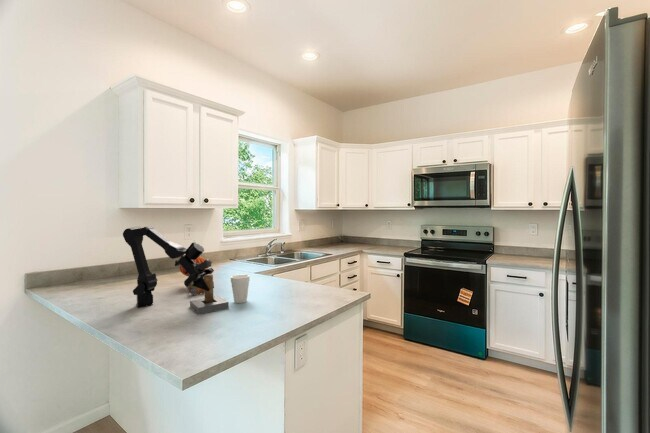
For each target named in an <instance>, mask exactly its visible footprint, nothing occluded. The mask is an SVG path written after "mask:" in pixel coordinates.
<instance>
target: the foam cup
mask: <svg viewBox="0 0 650 433" xmlns="http://www.w3.org/2000/svg"><path fill="white" fill-rule="evenodd" d="M230 283H231V290H232V294H233V295H232V296H233V301H234V302H233V303H236V304H245V303H246V302H247V301H248V293H249V292H248V291H249V285H250V284H249V283H250V275H249V274H244V273H243V274H234V275H231V276H230Z"/></svg>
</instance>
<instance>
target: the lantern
mask: <svg viewBox="0 0 650 433" xmlns="http://www.w3.org/2000/svg"><path fill="white" fill-rule="evenodd" d="M204 260H206V258H205V257H204V256H201V255H200V256H199V257H198V258H197V259H196V260H194V259H193V261H194V262H195V263H199V264H201V263H203V262H204ZM178 266H179V268H178V269H179V271H180V273H181V274H182V275H184V276H186V277H189V276H190V275H189V274H185V272H186V271H185V270H184V269H183V268H182V267H181V265H178ZM208 268H210V267H207V268H205V270H206V269H208ZM203 272H204V271H203Z"/></svg>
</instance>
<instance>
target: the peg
mask: <svg viewBox="0 0 650 433" xmlns="http://www.w3.org/2000/svg"><path fill="white" fill-rule="evenodd" d="M204 282H205V283H206V285H207V286H208V287H209V289H210V290H209V291H206V290H204V293H203V294H204V298H205V304H208V303H213V297H214V288H213V282H214V274H213V273H212V274H206V275H204Z"/></svg>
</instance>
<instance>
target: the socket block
mask: <svg viewBox="0 0 650 433" xmlns="http://www.w3.org/2000/svg"><path fill="white" fill-rule="evenodd" d="M229 304H230V303H229V300H226V299H225V298H223V297H222V296H220V295H215V296H214V295H213V303H208V304H205V297H204V298H203V297H202V298H200V299H192V300H189V308H191V309H192V310H193V311H194V312H195V313H196V314H198V315H203V314H206V313H207V314H208V313H211V312H217V311H222V310H226V309H229Z"/></svg>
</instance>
